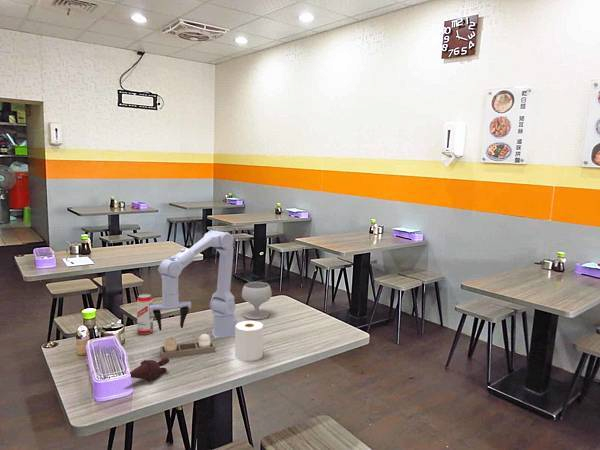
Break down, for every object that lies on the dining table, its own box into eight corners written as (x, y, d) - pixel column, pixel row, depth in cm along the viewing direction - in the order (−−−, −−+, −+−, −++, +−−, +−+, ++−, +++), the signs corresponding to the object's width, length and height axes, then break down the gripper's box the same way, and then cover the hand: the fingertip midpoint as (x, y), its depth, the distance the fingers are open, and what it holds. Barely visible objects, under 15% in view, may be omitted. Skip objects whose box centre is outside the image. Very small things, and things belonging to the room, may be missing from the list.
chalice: (276, 313, 211) (277, 283, 209) (261, 322, 199) (262, 290, 197) (251, 309, 217) (251, 279, 215) (235, 317, 204) (236, 286, 202)
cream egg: (209, 346, 170) (209, 331, 169) (211, 351, 166) (211, 335, 165) (197, 348, 168) (197, 332, 168) (199, 352, 164) (199, 336, 164)
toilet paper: (266, 352, 168) (266, 321, 166) (258, 363, 158) (258, 331, 156) (240, 349, 170) (241, 319, 168) (231, 360, 160) (231, 328, 158)
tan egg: (175, 350, 166) (175, 335, 165) (177, 355, 162) (177, 339, 161) (163, 352, 164) (163, 336, 163) (165, 357, 160) (165, 341, 159)
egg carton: (212, 345, 172) (212, 339, 172) (215, 353, 165) (215, 347, 165) (160, 352, 165) (159, 346, 164) (161, 360, 158) (161, 354, 158)
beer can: (148, 336, 180) (147, 298, 178) (134, 334, 181) (133, 297, 179) (156, 330, 186) (155, 294, 184) (142, 329, 187) (141, 293, 185)
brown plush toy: (132, 373, 135) (175, 362, 146) (122, 360, 139) (164, 350, 151) (128, 392, 136) (171, 380, 148) (118, 378, 141) (160, 367, 152)
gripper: (188, 287, 166) (189, 322, 168) (148, 291, 161) (149, 326, 162) (192, 292, 160) (192, 328, 162) (150, 296, 154) (151, 333, 156)
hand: (171, 328), depth 162 cm, fingers open, 7 cm apart
